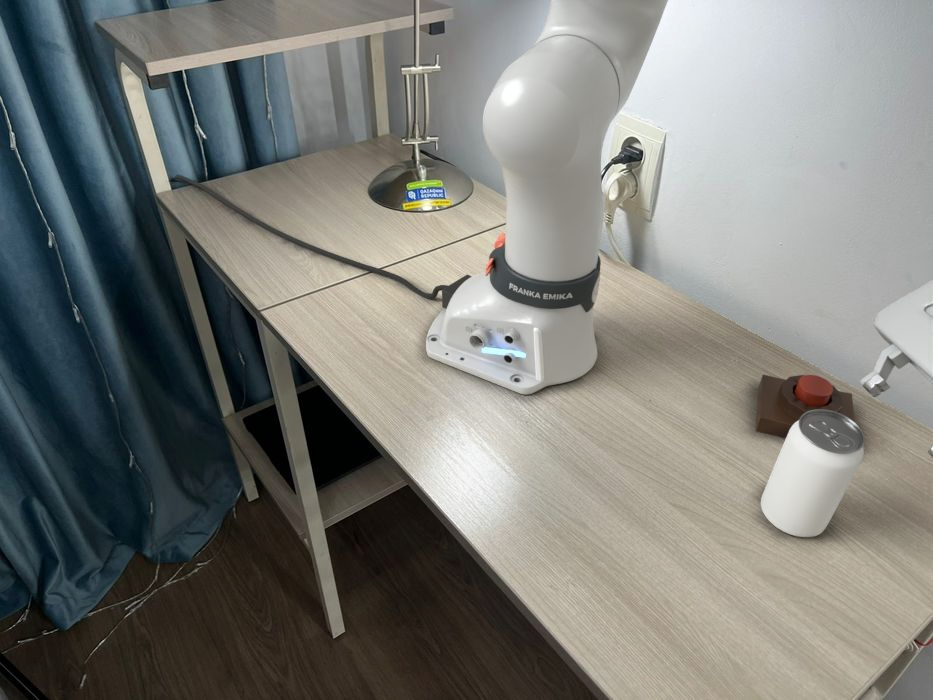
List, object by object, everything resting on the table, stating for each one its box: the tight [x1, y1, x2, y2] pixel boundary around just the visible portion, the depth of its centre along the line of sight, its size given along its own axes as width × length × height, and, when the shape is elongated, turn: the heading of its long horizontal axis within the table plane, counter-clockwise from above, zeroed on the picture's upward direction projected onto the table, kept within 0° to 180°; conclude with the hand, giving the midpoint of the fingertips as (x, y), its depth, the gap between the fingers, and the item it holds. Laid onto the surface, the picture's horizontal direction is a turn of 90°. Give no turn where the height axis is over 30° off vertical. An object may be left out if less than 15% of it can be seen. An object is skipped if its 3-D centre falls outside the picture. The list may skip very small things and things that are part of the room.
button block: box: [755, 374, 856, 439], centre depth 80 cm, size 10×8×4 cm
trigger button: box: [795, 374, 833, 407], centre depth 78 cm, size 4×4×2 cm
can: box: [760, 409, 866, 538], centre depth 67 cm, size 6×6×12 cm
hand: (898, 423), depth 64 cm, fingers open, 8 cm apart
